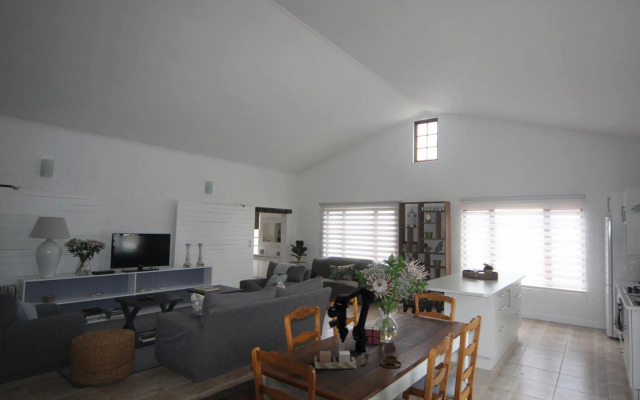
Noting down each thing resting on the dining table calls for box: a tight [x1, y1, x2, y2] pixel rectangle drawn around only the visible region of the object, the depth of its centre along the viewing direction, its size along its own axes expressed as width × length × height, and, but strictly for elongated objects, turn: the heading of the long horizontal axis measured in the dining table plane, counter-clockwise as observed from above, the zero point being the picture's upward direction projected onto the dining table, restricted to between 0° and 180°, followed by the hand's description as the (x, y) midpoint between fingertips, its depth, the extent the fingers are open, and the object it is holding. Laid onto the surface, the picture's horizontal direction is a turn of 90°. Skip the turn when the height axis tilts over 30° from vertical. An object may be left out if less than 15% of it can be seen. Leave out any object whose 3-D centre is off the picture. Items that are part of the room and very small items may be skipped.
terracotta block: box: [319, 350, 332, 363], centre depth 211 cm, size 6×6×7 cm
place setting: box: [364, 353, 402, 369], centre depth 215 cm, size 18×20×6 cm
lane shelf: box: [313, 356, 357, 369], centre depth 211 cm, size 24×10×3 cm, turn 93°
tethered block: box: [338, 341, 351, 363], centre depth 218 cm, size 6×19×8 cm, turn 3°
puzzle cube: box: [365, 325, 381, 345], centre depth 256 cm, size 10×10×10 cm
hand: (341, 340), depth 226 cm, fingers open, 9 cm apart
